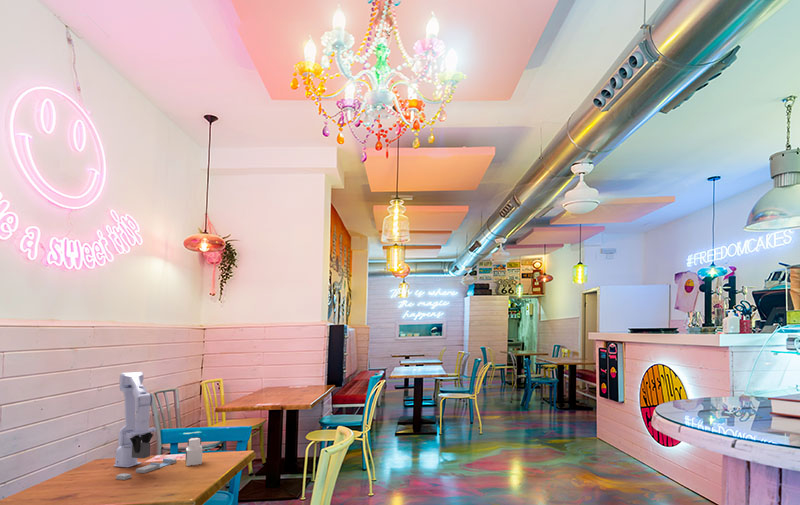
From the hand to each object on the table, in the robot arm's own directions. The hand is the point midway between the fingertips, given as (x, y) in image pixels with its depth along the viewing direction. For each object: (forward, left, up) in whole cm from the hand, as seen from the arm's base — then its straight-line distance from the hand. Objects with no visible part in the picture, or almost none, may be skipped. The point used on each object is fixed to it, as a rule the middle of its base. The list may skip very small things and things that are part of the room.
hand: (140, 451), depth 228 cm
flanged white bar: (0, +5, -9) cm, 10 cm away
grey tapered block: (0, 0, -2) cm, 2 cm away
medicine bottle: (+13, +20, -10) cm, 25 cm away
